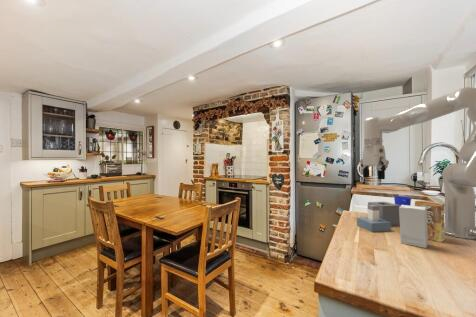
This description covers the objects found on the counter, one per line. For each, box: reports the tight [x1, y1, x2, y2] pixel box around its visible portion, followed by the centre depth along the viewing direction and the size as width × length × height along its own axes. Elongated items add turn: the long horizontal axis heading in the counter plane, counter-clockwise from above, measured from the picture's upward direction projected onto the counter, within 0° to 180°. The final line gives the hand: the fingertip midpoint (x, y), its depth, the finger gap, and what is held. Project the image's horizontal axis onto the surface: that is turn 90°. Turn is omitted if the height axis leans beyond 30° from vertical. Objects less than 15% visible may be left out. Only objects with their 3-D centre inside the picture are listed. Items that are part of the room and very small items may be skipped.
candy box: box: [414, 199, 446, 243], centre depth 93 cm, size 9×4×15 cm, turn 33°
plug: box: [367, 204, 379, 221], centre depth 107 cm, size 3×3×10 cm
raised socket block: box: [367, 201, 400, 227], centre depth 116 cm, size 10×10×10 cm
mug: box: [393, 195, 412, 206], centre depth 132 cm, size 8×12×10 cm
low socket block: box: [356, 216, 392, 233], centre depth 107 cm, size 10×10×4 cm
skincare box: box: [399, 205, 429, 249], centre depth 87 cm, size 8×6×15 cm
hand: (373, 178), depth 107 cm, fingers open, 9 cm apart
